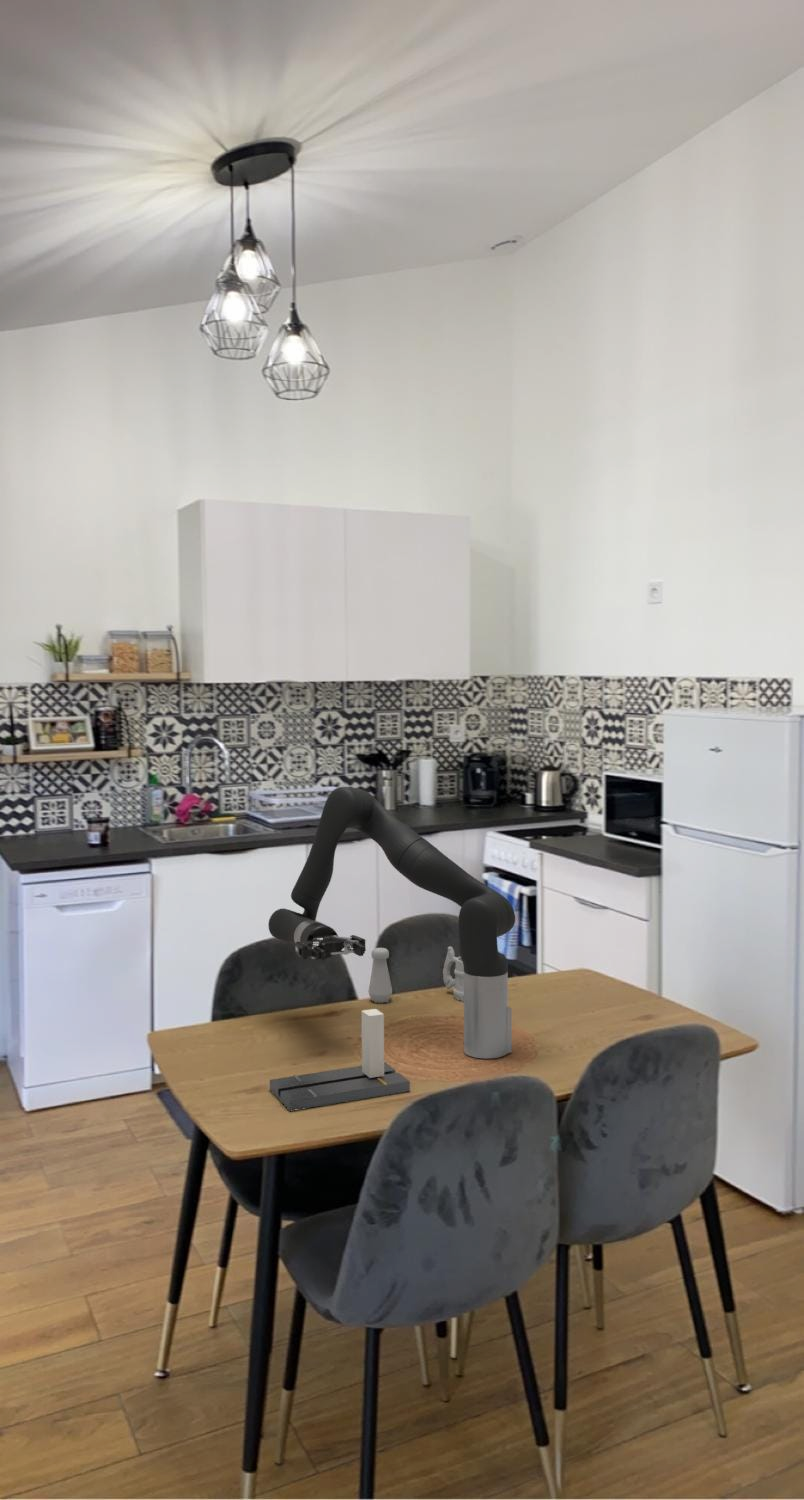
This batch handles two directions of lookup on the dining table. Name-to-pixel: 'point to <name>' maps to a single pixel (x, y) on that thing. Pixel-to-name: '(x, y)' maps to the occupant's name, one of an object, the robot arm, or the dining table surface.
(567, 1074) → the dining table surface
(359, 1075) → the mixer console
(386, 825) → the robot arm
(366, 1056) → the slider handle
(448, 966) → the mug
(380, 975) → the salt shaker
